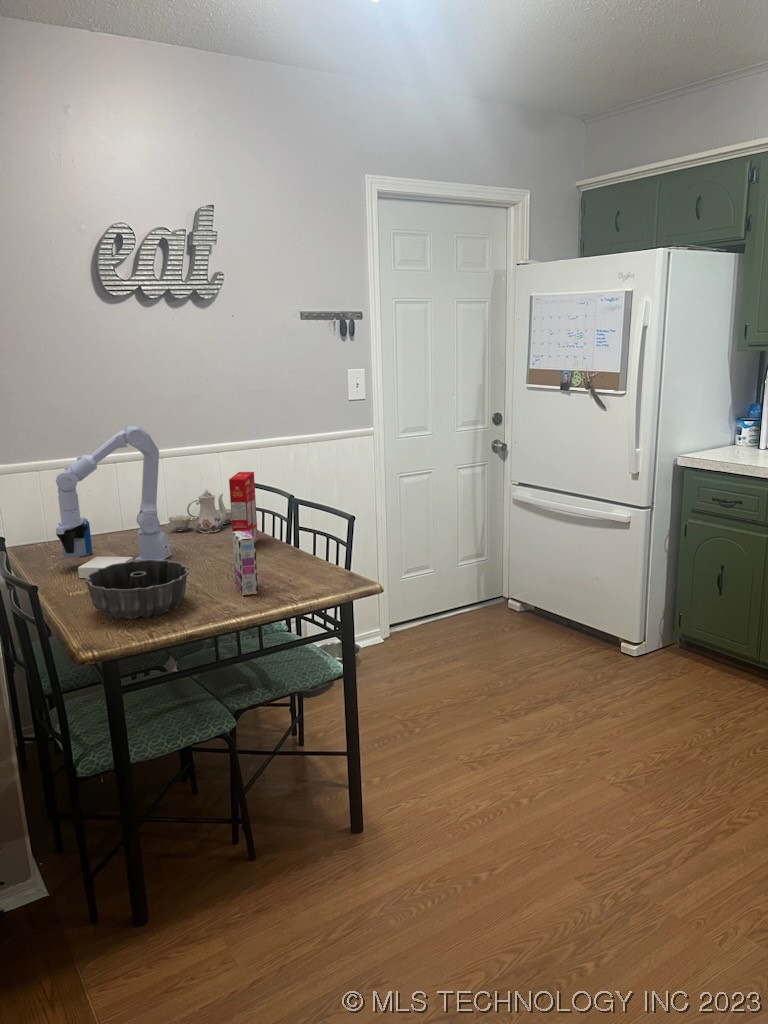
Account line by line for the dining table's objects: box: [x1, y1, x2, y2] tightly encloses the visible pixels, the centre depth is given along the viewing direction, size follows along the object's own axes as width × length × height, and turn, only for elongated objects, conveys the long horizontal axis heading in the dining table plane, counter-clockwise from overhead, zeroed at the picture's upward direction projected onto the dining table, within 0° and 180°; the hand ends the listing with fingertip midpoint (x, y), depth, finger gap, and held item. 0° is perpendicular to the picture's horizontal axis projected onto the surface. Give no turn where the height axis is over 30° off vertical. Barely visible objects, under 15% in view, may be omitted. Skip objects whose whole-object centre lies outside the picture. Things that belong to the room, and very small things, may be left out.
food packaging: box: [228, 471, 259, 540], centre depth 261 cm, size 15×5×25 cm, turn 178°
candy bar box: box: [231, 530, 259, 593], centre depth 214 cm, size 11×5×16 cm, turn 21°
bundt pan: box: [84, 559, 190, 620], centre depth 202 cm, size 26×26×10 cm
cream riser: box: [77, 556, 134, 578], centre depth 234 cm, size 12×12×4 cm
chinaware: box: [166, 489, 232, 532], centre depth 287 cm, size 28×17×17 cm, turn 130°
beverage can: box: [81, 518, 93, 557], centre depth 255 cm, size 6×6×12 cm
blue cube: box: [61, 538, 86, 559], centre depth 240 cm, size 5×5×5 cm
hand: (74, 550), depth 240 cm, fingers closed on blue cube, 5 cm apart
